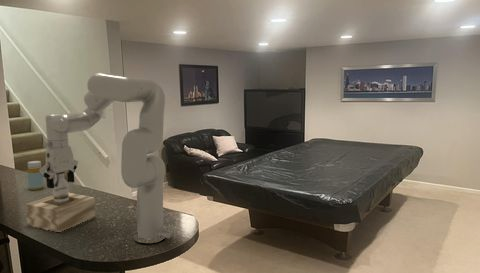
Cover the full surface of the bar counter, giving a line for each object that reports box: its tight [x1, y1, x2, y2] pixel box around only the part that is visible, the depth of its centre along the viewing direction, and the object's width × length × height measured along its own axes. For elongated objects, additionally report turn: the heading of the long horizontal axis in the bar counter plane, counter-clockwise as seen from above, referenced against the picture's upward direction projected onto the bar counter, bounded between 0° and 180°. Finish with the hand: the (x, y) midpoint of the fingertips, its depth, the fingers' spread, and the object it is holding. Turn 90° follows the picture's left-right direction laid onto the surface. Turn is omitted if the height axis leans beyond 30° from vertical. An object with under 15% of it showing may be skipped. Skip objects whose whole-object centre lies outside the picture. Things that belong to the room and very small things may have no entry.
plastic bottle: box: [51, 171, 70, 206], centre depth 141 cm, size 6×7×20 cm
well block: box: [25, 192, 96, 233], centre depth 142 cm, size 18×18×9 cm
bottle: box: [26, 160, 44, 191], centre depth 185 cm, size 7×7×15 cm
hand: (61, 184), depth 140 cm, fingers open, 9 cm apart
